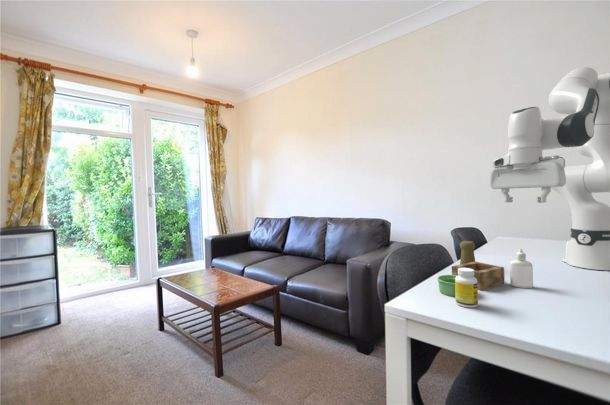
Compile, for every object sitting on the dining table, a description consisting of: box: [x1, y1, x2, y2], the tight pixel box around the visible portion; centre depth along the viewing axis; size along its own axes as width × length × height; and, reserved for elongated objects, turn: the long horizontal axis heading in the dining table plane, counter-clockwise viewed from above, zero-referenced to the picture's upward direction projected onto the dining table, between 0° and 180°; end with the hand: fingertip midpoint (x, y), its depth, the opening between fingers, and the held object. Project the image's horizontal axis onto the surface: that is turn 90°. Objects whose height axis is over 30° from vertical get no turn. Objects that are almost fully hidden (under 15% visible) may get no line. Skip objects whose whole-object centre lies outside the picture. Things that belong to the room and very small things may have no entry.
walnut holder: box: [451, 261, 505, 292], centre depth 96 cm, size 12×10×6 cm
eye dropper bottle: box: [509, 248, 534, 289], centre depth 91 cm, size 4×6×12 cm
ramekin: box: [436, 274, 457, 298], centre depth 88 cm, size 9×9×4 cm
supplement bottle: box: [454, 268, 479, 309], centre depth 79 cm, size 5×5×10 cm
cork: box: [459, 240, 476, 265], centre depth 113 cm, size 6×6×11 cm
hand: (524, 202), depth 91 cm, fingers open, 8 cm apart
